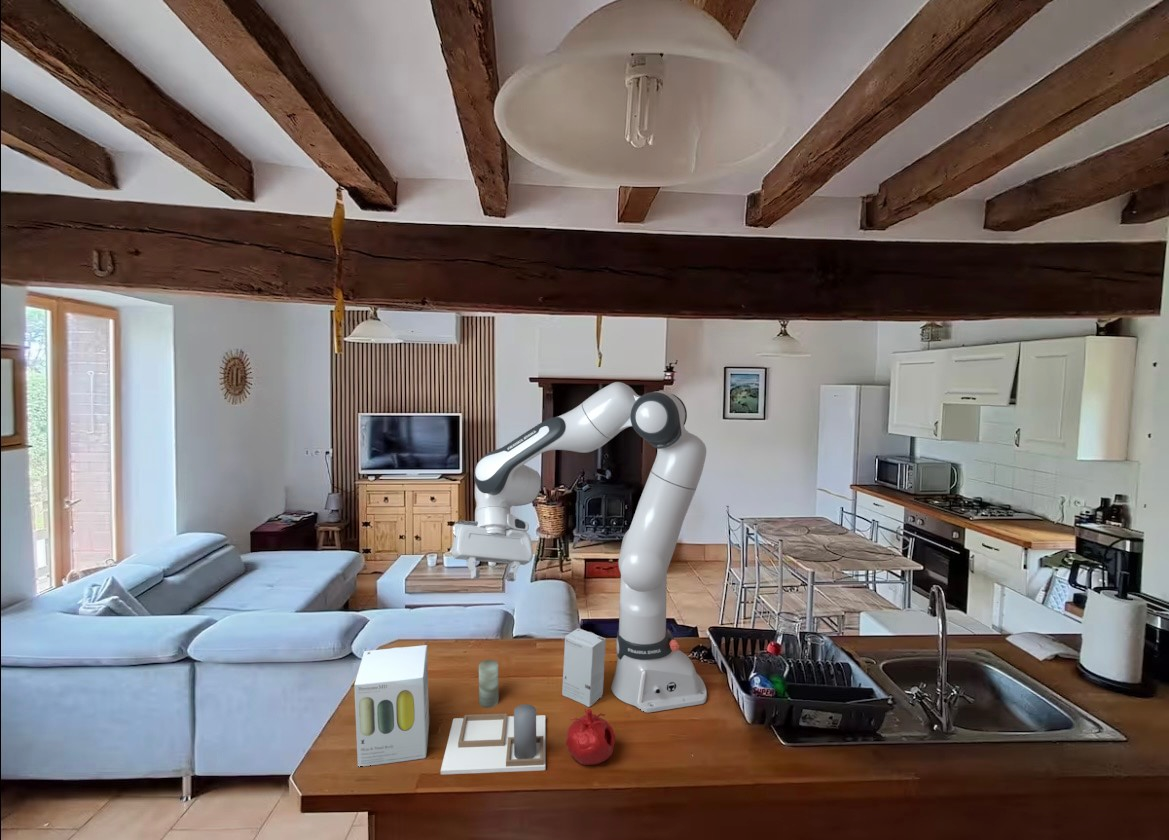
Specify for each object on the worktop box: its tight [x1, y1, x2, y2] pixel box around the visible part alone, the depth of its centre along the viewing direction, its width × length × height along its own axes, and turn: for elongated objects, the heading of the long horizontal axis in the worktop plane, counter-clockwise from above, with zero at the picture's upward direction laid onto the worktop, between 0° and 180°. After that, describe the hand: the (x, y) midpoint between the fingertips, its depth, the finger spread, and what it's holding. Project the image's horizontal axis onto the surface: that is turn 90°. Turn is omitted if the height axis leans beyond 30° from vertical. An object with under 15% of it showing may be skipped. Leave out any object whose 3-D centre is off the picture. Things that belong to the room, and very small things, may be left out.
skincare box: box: [561, 628, 607, 708], centre depth 137 cm, size 8×6×15 cm
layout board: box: [440, 703, 546, 776], centre depth 120 cm, size 20×16×10 cm
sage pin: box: [478, 659, 500, 709], centre depth 135 cm, size 4×4×9 cm
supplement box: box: [353, 644, 430, 768], centre depth 120 cm, size 13×13×18 cm
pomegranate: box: [565, 708, 616, 766], centre depth 117 cm, size 10×10×9 cm
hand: (493, 579), depth 139 cm, fingers open, 8 cm apart
